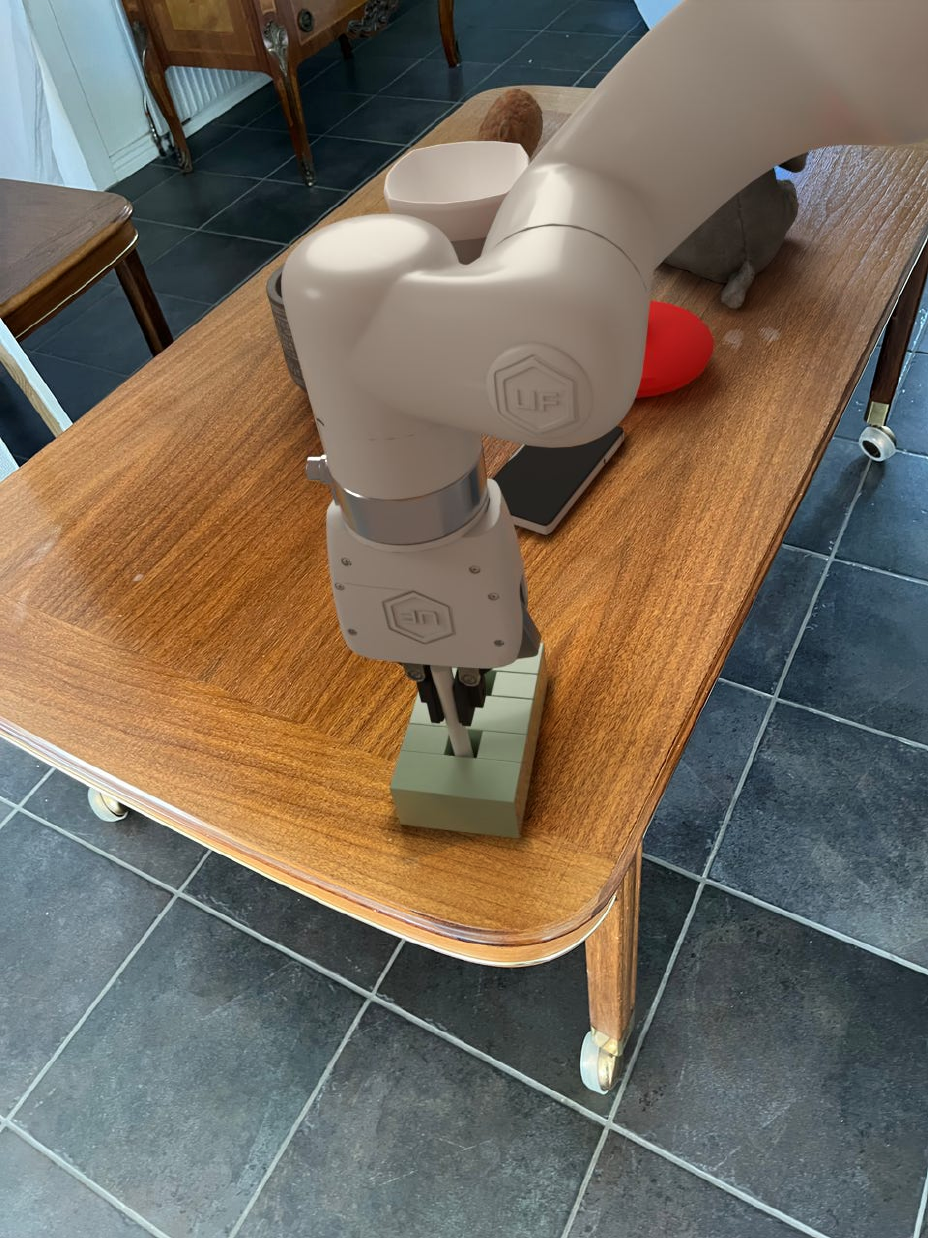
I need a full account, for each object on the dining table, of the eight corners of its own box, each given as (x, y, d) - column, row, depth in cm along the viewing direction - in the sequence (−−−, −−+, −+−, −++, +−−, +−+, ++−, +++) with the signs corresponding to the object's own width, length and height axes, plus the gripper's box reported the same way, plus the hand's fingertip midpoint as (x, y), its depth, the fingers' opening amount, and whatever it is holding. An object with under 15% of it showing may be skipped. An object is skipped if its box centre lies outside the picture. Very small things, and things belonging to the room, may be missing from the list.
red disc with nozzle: (604, 316, 106) (603, 255, 101) (738, 349, 99) (745, 285, 94) (526, 390, 98) (521, 328, 93) (665, 433, 91) (668, 368, 86)
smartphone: (470, 501, 86) (552, 408, 94) (471, 511, 87) (553, 418, 94) (549, 527, 82) (627, 428, 90) (550, 537, 83) (627, 438, 91)
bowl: (382, 284, 117) (367, 207, 110) (411, 216, 129) (399, 143, 122) (527, 279, 113) (521, 200, 107) (543, 210, 125) (539, 135, 118)
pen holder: (442, 672, 74) (434, 633, 71) (548, 681, 72) (544, 642, 69) (400, 824, 65) (388, 788, 62) (519, 839, 64) (514, 802, 60)
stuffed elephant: (692, 200, 122) (706, -52, 103) (839, 244, 111) (887, -31, 91) (590, 262, 115) (584, 2, 95) (737, 316, 103) (765, 33, 83)
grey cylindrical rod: (480, 773, 67) (452, 657, 56) (477, 788, 67) (448, 674, 56) (464, 771, 68) (432, 656, 57) (460, 787, 67) (428, 672, 56)
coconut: (464, 191, 132) (455, 114, 125) (490, 152, 140) (483, 78, 132) (532, 192, 129) (526, 114, 122) (554, 153, 137) (550, 77, 130)
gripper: (240, 523, 47) (324, 743, 60) (556, 539, 43) (570, 769, 57) (288, 430, 52) (356, 652, 65) (576, 438, 48) (585, 671, 62)
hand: (456, 705), depth 61 cm, fingers closed on grey cylindrical rod, 1 cm apart
